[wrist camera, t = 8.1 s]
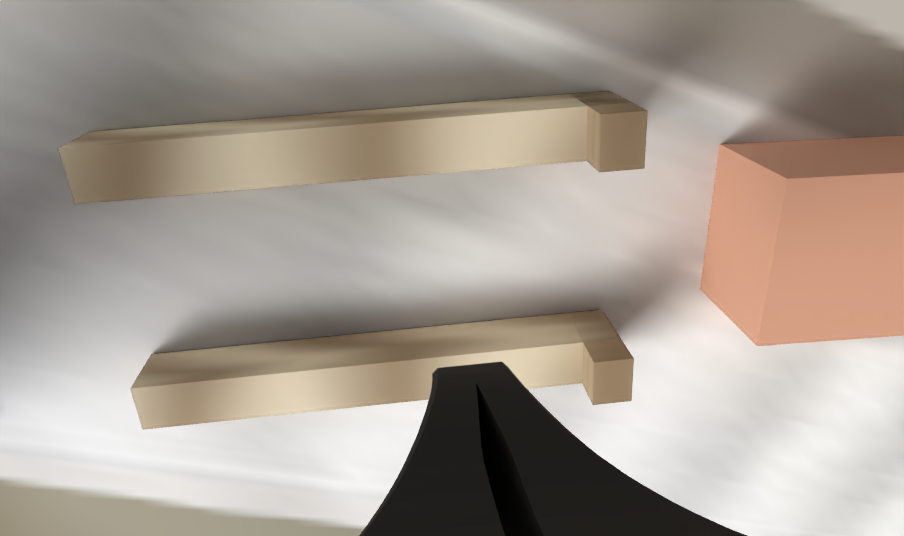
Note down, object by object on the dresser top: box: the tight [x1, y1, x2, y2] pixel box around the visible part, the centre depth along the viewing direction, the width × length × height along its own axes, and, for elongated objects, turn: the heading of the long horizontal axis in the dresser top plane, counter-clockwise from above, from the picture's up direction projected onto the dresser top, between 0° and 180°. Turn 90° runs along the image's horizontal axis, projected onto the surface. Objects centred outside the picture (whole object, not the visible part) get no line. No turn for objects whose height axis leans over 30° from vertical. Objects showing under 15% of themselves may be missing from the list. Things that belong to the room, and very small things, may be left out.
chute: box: [58, 91, 647, 429], centre depth 20 cm, size 15×9×3 cm, turn 93°
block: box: [700, 136, 904, 346], centre depth 21 cm, size 6×5×4 cm
